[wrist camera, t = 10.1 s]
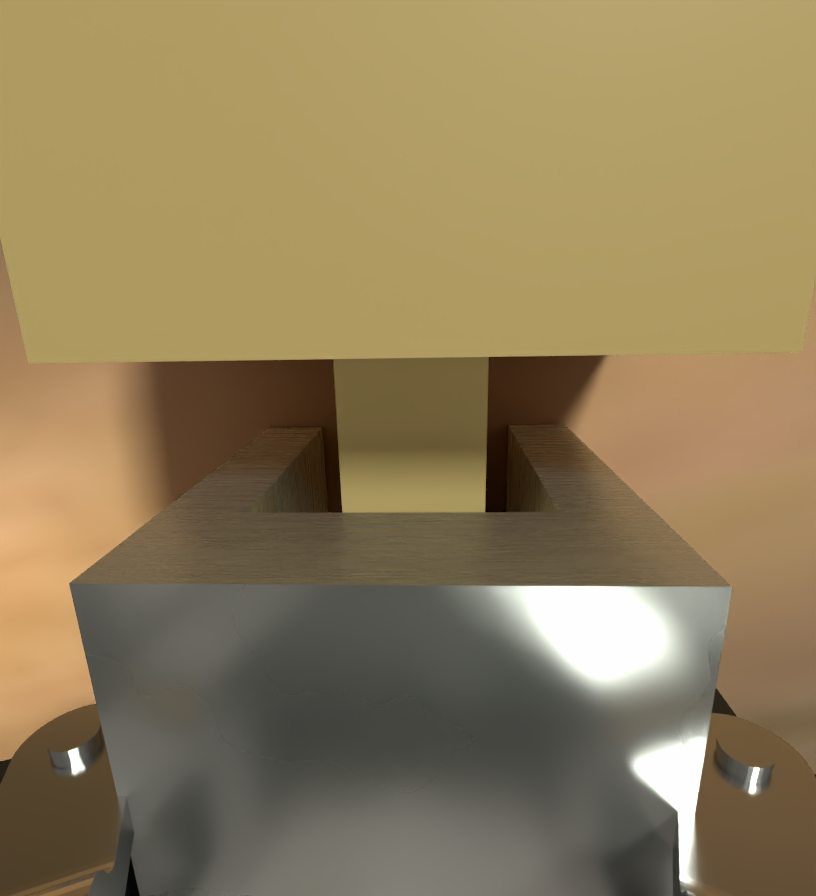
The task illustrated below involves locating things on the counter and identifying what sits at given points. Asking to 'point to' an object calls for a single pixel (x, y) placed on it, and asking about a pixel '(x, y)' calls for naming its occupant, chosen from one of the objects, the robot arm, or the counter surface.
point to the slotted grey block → (404, 683)
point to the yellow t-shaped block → (407, 196)
